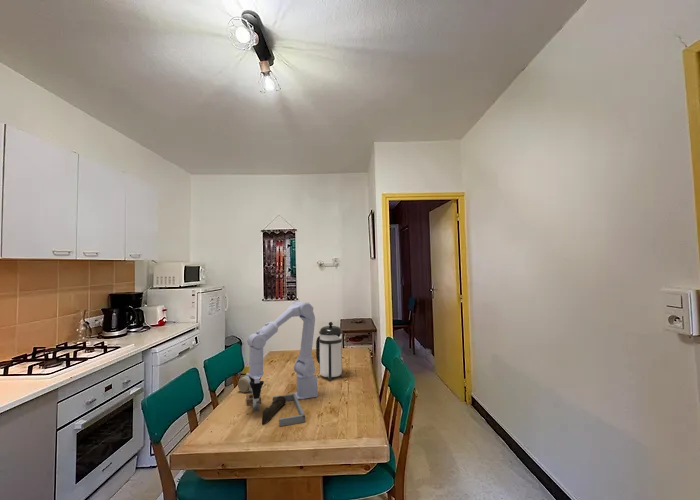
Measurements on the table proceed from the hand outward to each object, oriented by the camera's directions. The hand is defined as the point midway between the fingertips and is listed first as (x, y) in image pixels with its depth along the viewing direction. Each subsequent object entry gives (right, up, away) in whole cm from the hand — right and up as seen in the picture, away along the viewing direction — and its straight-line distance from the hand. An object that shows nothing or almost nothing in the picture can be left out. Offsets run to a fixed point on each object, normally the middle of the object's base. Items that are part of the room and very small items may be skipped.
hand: (255, 394), depth 136 cm
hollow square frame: (-3, -7, +8) cm, 11 cm away
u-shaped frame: (+14, -6, -2) cm, 15 cm away
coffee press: (+28, -9, +41) cm, 50 cm away
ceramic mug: (-9, -8, +21) cm, 25 cm away
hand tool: (+9, -7, -4) cm, 12 cm away
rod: (0, -6, 0) cm, 6 cm away
